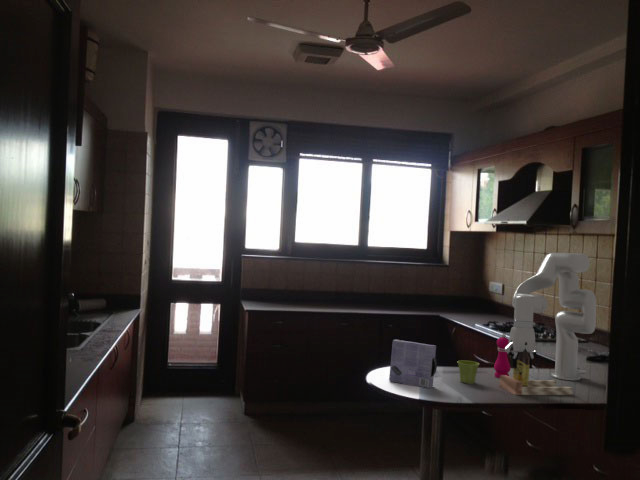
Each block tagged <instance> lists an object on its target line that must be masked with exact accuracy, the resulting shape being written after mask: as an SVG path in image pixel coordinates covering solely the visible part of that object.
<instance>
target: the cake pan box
mask: <svg viewBox="0 0 640 480" xmlns="http://www.w3.org/2000/svg"><path fill="white" fill-rule="evenodd" d="M391 346H392V347H391V356H390V368H389V378H388V380H389V382H392V383H398V384H404V385H407V386H415V387H421V388H426V389H431V388H433V387H432V386H434V378H435V375H436V372H437V369H438V368H437V367H438V362H437V359H436V354H437V353H436V352H437V345H434V344H426V343H421V342H420V343H419V342H416V341H415V342H414V341H406V340H400V339H393V340H392V344H391Z"/></svg>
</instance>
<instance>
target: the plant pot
mask: <svg viewBox="0 0 640 480" xmlns="http://www.w3.org/2000/svg"><path fill="white" fill-rule="evenodd" d="M456 363H457V365H458V368H459V371H458V372H459V381H460V382H461V383H463V384H464V383H466V384H468V385H469V384H471V385H473V384H475V383H476V378H477V371H478V368H479V365H480V363H479V362H476V361H472V360H458V361H456Z"/></svg>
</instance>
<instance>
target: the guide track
mask: <svg viewBox="0 0 640 480" xmlns="http://www.w3.org/2000/svg"><path fill="white" fill-rule="evenodd" d="M556 384H557V381H556V380H550V379H549V380H548V379H547V380H546V379H545V380H543V379H538V380H537V379H536V380H535V379H529V380H528V387H522V382H520V381H518V380H516V379H513V377H511V376H510V375H509V376H507V375H500V378H499V388H501V389H502V390H505V391H506V392H508V393H510V394H513V395H515V396H517V395H518V396H523V395H524V396H540V395H541V396H572V395H573V387H572V386H557V385H556Z"/></svg>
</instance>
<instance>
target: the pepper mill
mask: <svg viewBox="0 0 640 480" xmlns="http://www.w3.org/2000/svg"><path fill="white" fill-rule="evenodd" d="M508 344H509V338H507V335H506V334H504V333H503V334H502V335H501V337H499V338H498V339H497V340H496V345H497V351H498V353H497V354H498V355H497V358H496V360H495V362H494V366H493V369H494V371H495V372H494V377H495V378H497V379H500V375H507V376H509V377H510V373H509V372H510V371H511V363H510V362H509V359H508V353H507V352H506V351H505V348H506V347H507V346H508Z"/></svg>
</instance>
